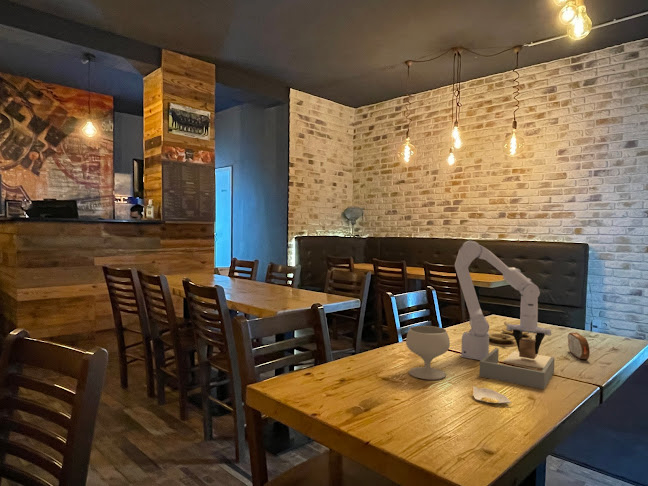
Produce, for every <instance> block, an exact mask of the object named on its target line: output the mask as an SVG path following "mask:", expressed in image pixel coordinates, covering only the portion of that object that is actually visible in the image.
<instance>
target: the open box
mask: <svg viewBox="0 0 648 486" xmlns="http://www.w3.org/2000/svg"><path fill="white" fill-rule="evenodd" d="M499 348H500V347H499ZM499 348H497V347H495V348H494V349H492V350H491V351H489V354H488V355H487V356H486V357H484V358H483V359H482V360H479V377H481V378H486V379H491V380H495V381H502V382H507V383H511V384H516V385H520V386H527V387H530V388H536V389H539V390H540V389H541V390H545V389H546V387H547V386H548V383H549V382H550V380H551V379H552V377H553V375H554V373H555V356H550V357H551V358H550V359H549V361H548V362H547V364H546V365H545V367H544V368H543V369H541V371H540V370H536V369H530V368H524V367H519V366H512V365H507V364H504V363H503V364H501V363H499V356H500V355H499V353H500V352H499Z"/></svg>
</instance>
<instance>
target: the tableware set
mask: <svg viewBox="0 0 648 486" xmlns="http://www.w3.org/2000/svg"><path fill="white" fill-rule="evenodd" d="M503 324H504V325H505V326H506V327H503V328H502V329H501V333H499V332H498V333H497V332H496V333H495V332H491V333H489V332H488V333H489V346H494V347H499V348H500V347H502V348H504V347H505V348H511V347H516V346H517V343H516V340H515V338H514V336H513V334H512V333H513V330H507V325H508V324H509V322H507V321H504V322H503ZM522 338H528V339H533V338H532V335H530V333H529V332H522ZM517 347H518V346H517Z"/></svg>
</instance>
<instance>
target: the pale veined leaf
mask: <svg viewBox="0 0 648 486" xmlns="http://www.w3.org/2000/svg"><path fill="white" fill-rule="evenodd" d="M472 388H473V389H472V390H473V391H472V392H473V393H472V395H473V397H474V399H475V400H476V401H480V402H485V403H488V404H494V402H492V401H486V400H482V399H483V398H488V399H490V400H495V401H497V402H498V404H506V405H507V404H512V402H511V401H510V399H509V398H508V397H507V396H506V395H505V394H503V393H500V392H497V391H495V390H493V389H491V388H487V387H481V388H478V387H477V386H474V385H472Z"/></svg>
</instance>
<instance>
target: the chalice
mask: <svg viewBox="0 0 648 486" xmlns="http://www.w3.org/2000/svg"><path fill="white" fill-rule="evenodd" d="M405 343H406V347H407V349H408V350H409V351H410V352H412V353H413V354H415V355H416V356H418V357H420V358H421V360H423V362H424V366H418V367H412V368H410V369H409V370H408V374H409V375H410V376H412V377H414V378H417V379H422V380H430V381H431V380H433V381H435V380H436V381H437V380H442V379H444V378H446V376H447V373H446V372H445V371H443V370H441V369H439V368H436V367H432V366H431V362H432V361H433V360H434V359H435V358H437V357H440V356H442V355H443V354H446V353H447V352H448V350H449V349H450V346H451V344H450V343H451V342H450V336H449V334H448V331H447V330H446V329H445V328H444V327H439V326H435V325H414V326H411V327H410V328H409V329H408V331H407V334H406V339H405Z"/></svg>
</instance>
